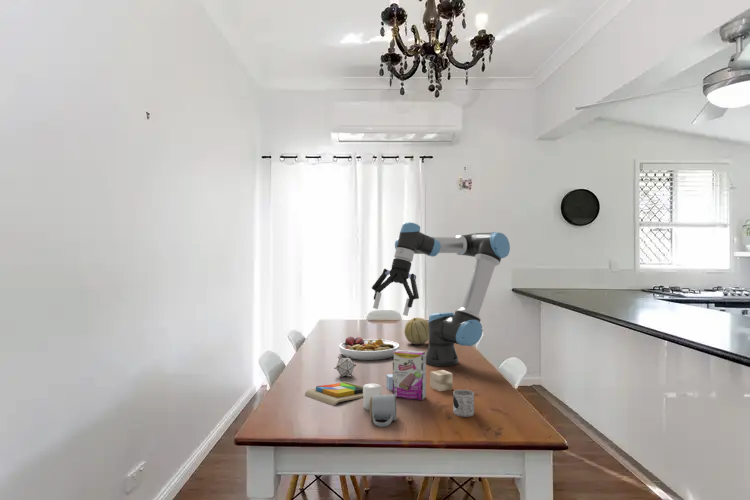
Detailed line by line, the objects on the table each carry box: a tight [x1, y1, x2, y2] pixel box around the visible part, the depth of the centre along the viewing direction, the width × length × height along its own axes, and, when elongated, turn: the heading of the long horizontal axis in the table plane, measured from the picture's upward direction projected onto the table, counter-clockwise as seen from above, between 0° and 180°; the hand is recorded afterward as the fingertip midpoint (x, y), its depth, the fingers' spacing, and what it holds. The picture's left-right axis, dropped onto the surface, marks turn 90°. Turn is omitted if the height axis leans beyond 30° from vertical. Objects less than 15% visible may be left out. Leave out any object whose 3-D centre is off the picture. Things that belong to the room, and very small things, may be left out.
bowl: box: [339, 336, 400, 361], centre depth 240 cm, size 30×30×8 cm
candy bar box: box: [392, 349, 427, 401], centre depth 170 cm, size 11×5×16 cm, turn 71°
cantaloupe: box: [403, 317, 429, 345], centre depth 264 cm, size 15×15×15 cm
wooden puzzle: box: [304, 380, 364, 407], centre depth 174 cm, size 18×19×4 cm
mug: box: [452, 389, 475, 418], centre depth 152 cm, size 10×7×7 cm
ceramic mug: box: [369, 393, 397, 428], centre depth 147 cm, size 11×8×8 cm
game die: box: [333, 356, 357, 379], centre depth 199 cm, size 9×8×10 cm
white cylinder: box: [362, 383, 382, 411], centre depth 160 cm, size 6×6×7 cm
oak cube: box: [429, 369, 454, 392], centre depth 181 cm, size 6×6×6 cm
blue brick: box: [385, 373, 393, 391], centre depth 182 cm, size 8×4×5 cm, turn 102°
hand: (389, 311), depth 188 cm, fingers open, 13 cm apart
